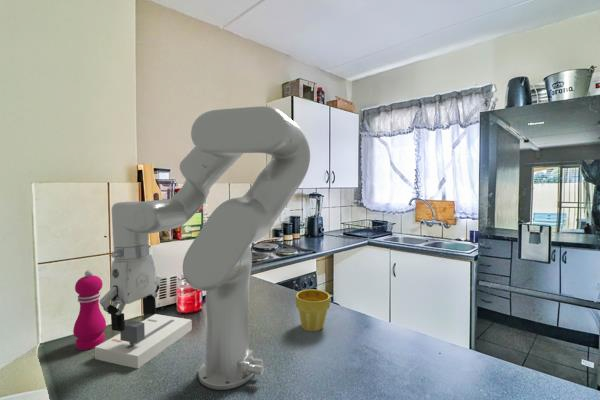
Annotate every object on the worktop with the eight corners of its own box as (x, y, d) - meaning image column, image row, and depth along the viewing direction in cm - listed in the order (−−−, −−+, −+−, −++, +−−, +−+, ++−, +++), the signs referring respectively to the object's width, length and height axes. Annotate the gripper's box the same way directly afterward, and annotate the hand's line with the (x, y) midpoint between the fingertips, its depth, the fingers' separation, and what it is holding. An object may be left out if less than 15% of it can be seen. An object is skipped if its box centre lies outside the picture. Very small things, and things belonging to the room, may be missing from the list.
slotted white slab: (191, 329, 90) (191, 319, 90) (138, 368, 71) (137, 355, 71) (155, 323, 94) (155, 313, 93) (95, 359, 74) (94, 346, 74)
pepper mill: (90, 352, 77) (88, 275, 76) (66, 349, 79) (64, 273, 78) (112, 338, 84) (111, 267, 83) (90, 335, 86) (89, 265, 85)
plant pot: (325, 337, 86) (325, 303, 86) (290, 331, 90) (291, 298, 89) (333, 321, 96) (333, 291, 96) (301, 317, 99) (302, 287, 99)
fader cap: (144, 342, 76) (144, 322, 76) (136, 347, 73) (136, 327, 73) (128, 339, 77) (128, 320, 77) (120, 344, 75) (120, 324, 75)
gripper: (112, 261, 65) (117, 340, 66) (169, 245, 81) (172, 308, 82) (86, 259, 67) (90, 336, 68) (146, 245, 84) (149, 306, 84)
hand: (135, 321), depth 75 cm, fingers open, 9 cm apart
